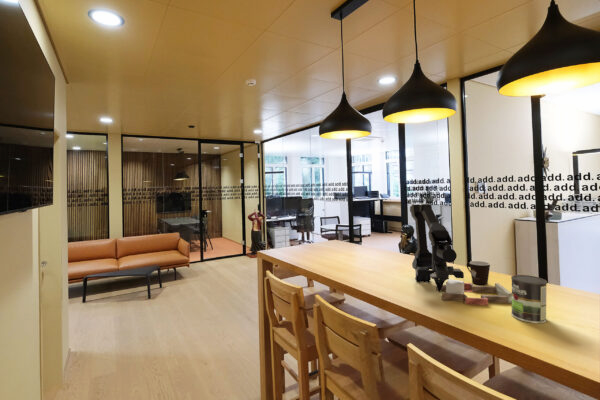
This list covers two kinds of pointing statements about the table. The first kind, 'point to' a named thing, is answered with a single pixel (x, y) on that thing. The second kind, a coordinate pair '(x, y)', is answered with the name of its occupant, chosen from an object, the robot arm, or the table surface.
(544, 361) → the table surface
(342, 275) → the table surface
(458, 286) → the white cube
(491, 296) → the trap lane
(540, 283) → the coffee can
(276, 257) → the table surface
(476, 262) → the coffee mug
